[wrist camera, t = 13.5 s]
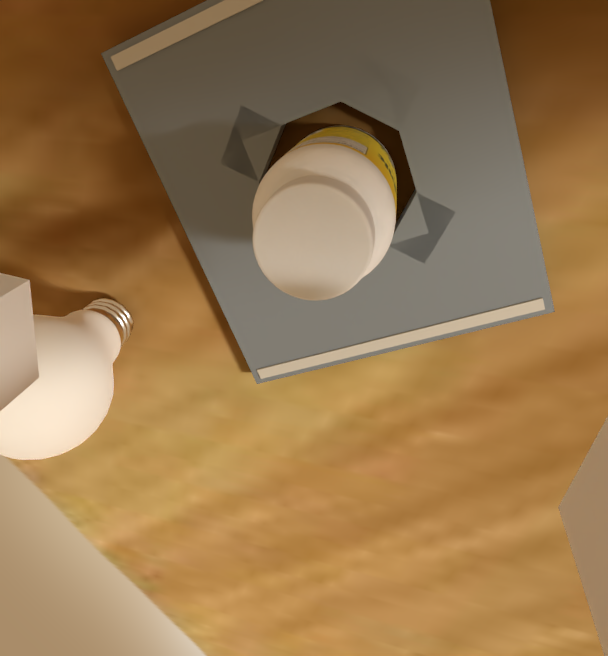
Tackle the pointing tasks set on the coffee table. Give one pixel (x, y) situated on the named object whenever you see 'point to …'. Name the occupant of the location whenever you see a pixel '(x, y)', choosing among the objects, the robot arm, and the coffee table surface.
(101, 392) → the light bulb
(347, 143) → the supplement bottle
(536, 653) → the coffee table surface
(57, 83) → the coffee table surface
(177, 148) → the socket board
